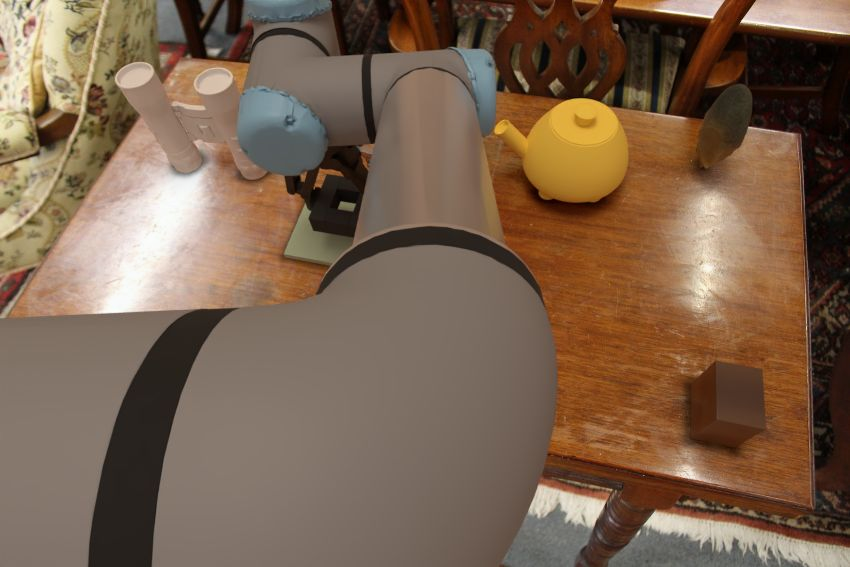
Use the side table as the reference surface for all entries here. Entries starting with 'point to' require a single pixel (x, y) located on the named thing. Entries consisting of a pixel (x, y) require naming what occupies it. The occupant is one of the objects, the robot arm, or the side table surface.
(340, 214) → the dark square frame
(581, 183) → the teapot
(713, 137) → the decorative stone
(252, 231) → the side table surface
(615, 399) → the side table surface
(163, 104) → the binoculars
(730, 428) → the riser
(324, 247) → the base mat
